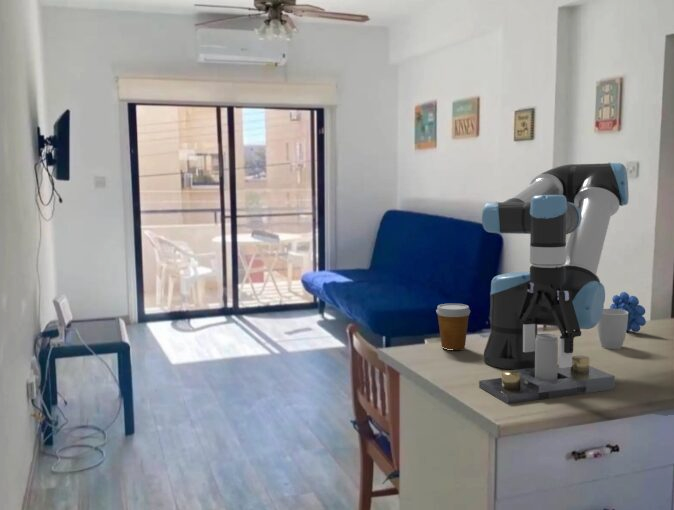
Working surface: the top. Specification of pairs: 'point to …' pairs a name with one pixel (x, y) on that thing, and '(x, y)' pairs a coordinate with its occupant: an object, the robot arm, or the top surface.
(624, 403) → the top surface
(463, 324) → the disposable coffee cup
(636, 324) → the grapes
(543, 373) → the beverage can
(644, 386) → the top surface
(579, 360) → the marble inkwell stand
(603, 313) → the cup
